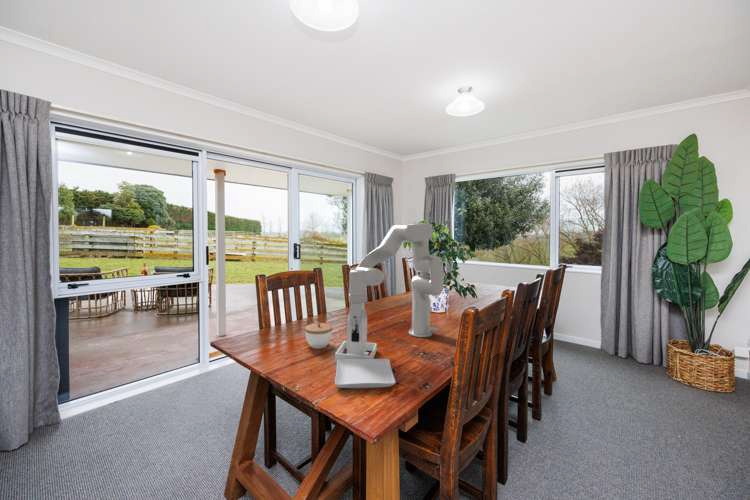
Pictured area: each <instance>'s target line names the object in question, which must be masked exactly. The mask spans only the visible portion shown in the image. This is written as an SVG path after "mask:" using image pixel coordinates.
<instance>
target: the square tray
mask: <svg viewBox="0 0 750 500" xmlns="http://www.w3.org/2000/svg"><path fill="white" fill-rule="evenodd" d="M377 344H378V343H376V342H367V350H366V351H365V352H368V351H369V352H371V353H370V355H367V356H366V355H354V354H347V353H344V352H345V350H347V340H344V341H343V342H342V343H341V345H340V346H339V347H338V348H337V351H335V353H334V362H335V363H337V361H338V360H342V359H375V355H376V353H377V350H378V349H377V348H378V345H377Z"/></svg>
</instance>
